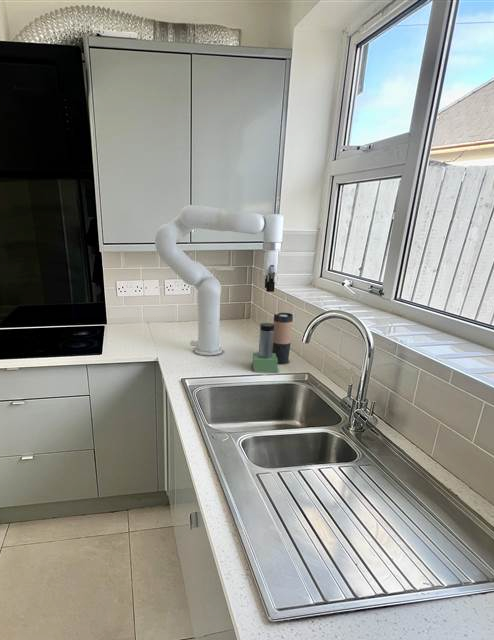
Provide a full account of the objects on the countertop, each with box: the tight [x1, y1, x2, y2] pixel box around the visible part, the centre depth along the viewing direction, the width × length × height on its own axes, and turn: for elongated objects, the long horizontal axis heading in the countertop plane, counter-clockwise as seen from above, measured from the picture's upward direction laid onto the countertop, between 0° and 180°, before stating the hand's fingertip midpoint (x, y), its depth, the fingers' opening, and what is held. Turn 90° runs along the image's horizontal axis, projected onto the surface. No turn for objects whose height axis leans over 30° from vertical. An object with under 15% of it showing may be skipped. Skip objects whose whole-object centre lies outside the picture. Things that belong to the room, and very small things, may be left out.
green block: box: [252, 352, 279, 373], centre depth 163 cm, size 9×9×5 cm
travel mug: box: [272, 312, 294, 365], centre depth 168 cm, size 8×8×20 cm
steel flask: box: [258, 322, 275, 359], centre depth 159 cm, size 5×5×13 cm
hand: (269, 289), depth 170 cm, fingers open, 9 cm apart
